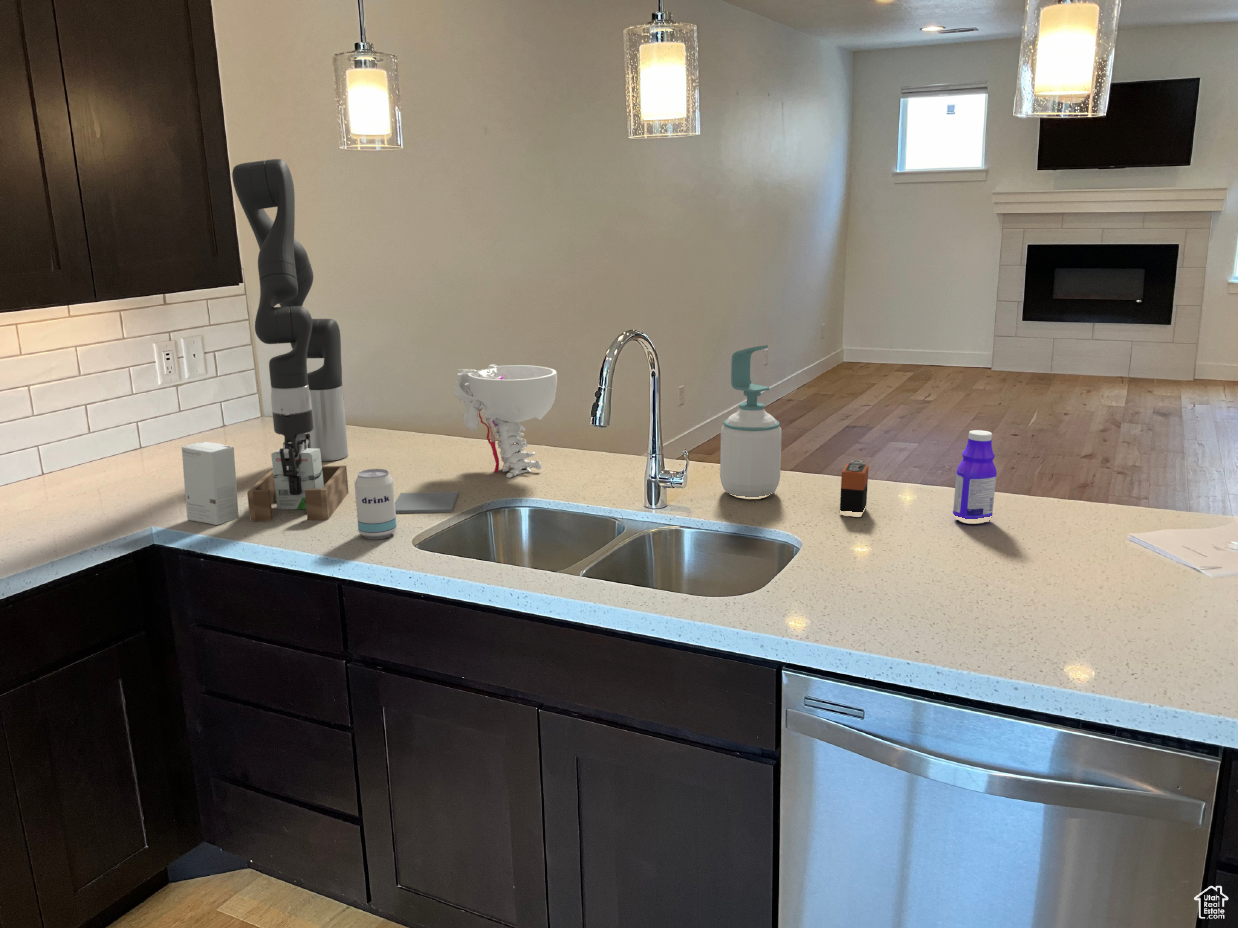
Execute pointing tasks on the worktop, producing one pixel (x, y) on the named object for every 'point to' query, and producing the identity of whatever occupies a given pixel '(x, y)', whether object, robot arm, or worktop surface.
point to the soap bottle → (749, 438)
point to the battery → (854, 486)
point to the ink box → (309, 477)
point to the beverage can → (375, 503)
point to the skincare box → (210, 482)
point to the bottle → (976, 478)
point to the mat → (425, 502)
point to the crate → (317, 500)
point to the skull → (507, 407)
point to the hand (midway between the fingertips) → (299, 489)
